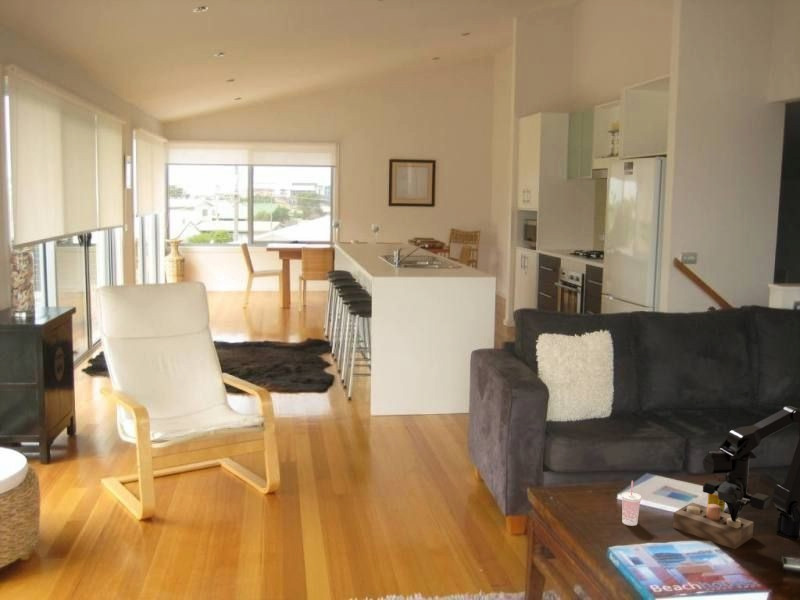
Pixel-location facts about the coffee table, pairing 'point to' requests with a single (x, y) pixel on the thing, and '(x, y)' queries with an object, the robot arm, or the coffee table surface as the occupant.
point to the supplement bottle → (716, 500)
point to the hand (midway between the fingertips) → (734, 520)
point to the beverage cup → (630, 507)
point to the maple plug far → (693, 510)
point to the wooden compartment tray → (712, 527)
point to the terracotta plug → (713, 512)
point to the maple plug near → (734, 523)
